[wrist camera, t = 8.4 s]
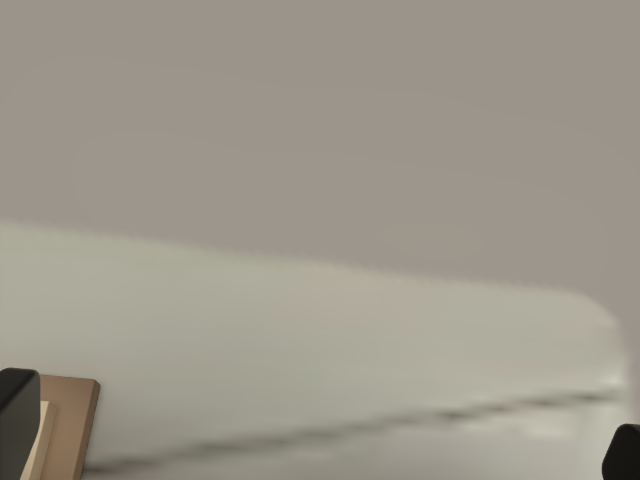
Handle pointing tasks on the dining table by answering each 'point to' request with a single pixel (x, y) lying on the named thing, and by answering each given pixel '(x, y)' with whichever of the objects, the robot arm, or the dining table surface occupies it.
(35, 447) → the stand
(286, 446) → the dining table surface
